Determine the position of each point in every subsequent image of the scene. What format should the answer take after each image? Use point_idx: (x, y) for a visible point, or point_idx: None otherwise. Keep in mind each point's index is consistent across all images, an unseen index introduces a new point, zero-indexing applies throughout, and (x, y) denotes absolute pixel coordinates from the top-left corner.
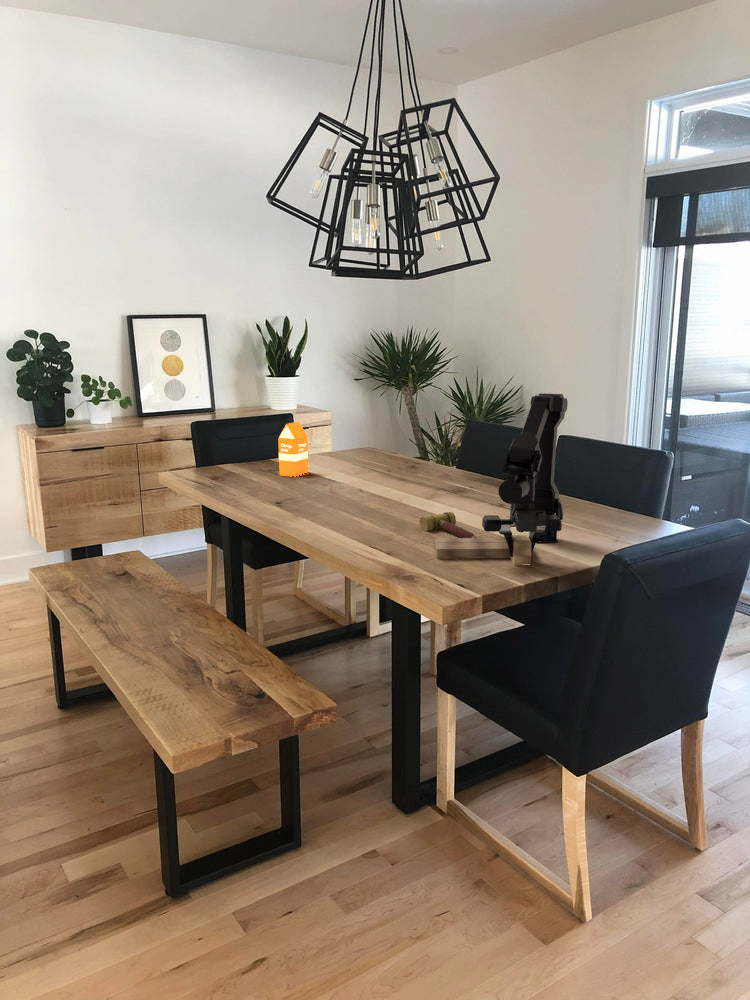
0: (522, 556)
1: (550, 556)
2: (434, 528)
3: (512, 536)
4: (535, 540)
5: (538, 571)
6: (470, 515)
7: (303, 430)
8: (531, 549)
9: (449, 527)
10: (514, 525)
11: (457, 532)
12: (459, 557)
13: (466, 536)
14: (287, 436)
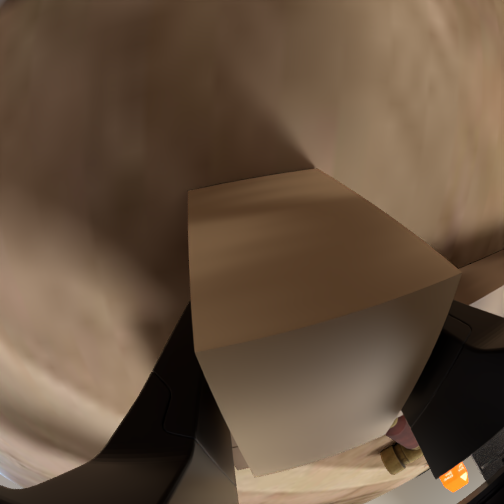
0: (278, 202)
1: (96, 375)
2: None
3: (387, 423)
4: (144, 417)
5: (125, 46)
6: (327, 487)
7: (448, 488)
8: (189, 329)
9: None
10: (490, 500)
11: None
12: (497, 255)
13: (405, 419)
14: (462, 475)
